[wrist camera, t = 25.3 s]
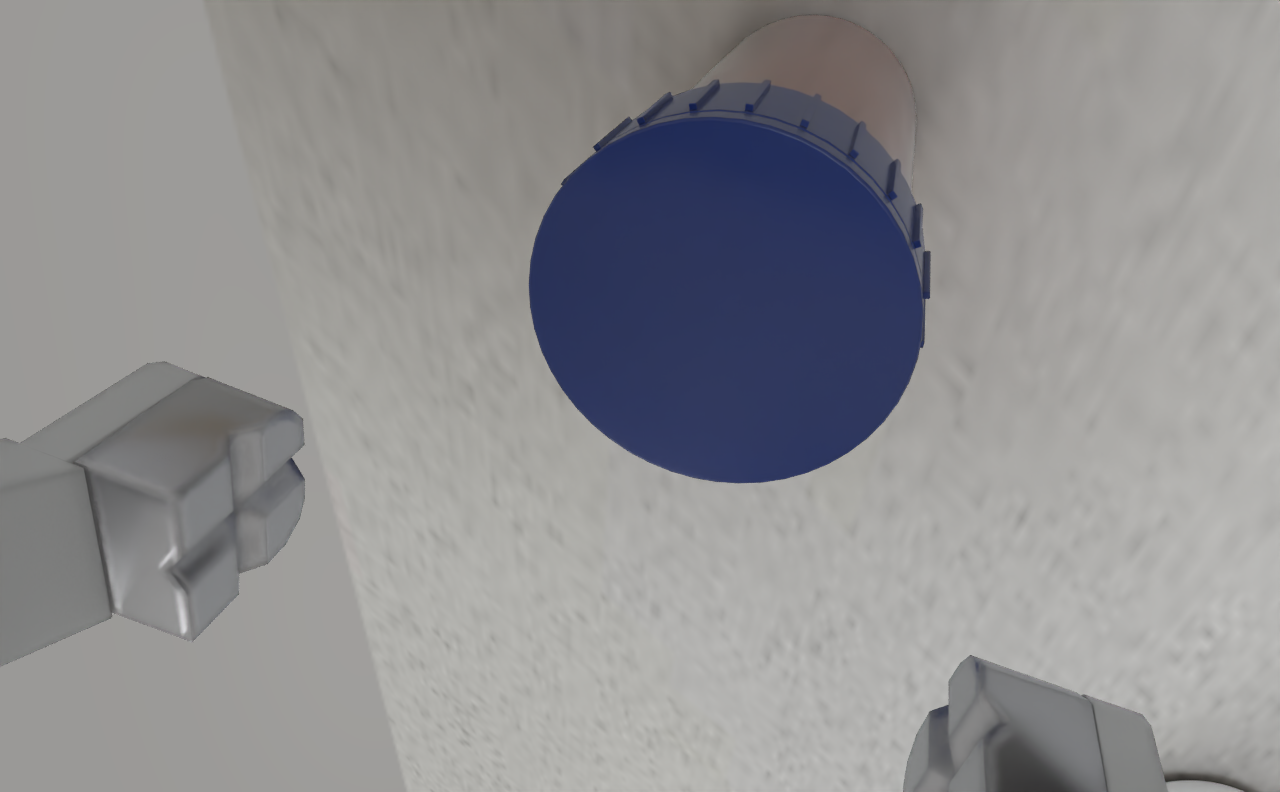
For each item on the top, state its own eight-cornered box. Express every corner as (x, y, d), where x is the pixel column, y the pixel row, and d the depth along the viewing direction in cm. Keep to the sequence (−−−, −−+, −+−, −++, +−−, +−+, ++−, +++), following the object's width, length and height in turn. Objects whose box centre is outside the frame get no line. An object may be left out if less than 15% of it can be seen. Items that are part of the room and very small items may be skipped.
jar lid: (550, 356, 17) (502, 417, 15) (606, 31, 14) (554, 58, 12) (855, 457, 17) (844, 535, 15) (993, 141, 13) (1003, 188, 11)
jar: (682, 195, 25) (535, 393, 16) (732, -12, 22) (586, 83, 13) (872, 253, 24) (834, 495, 15) (951, 48, 21) (963, 193, 12)
